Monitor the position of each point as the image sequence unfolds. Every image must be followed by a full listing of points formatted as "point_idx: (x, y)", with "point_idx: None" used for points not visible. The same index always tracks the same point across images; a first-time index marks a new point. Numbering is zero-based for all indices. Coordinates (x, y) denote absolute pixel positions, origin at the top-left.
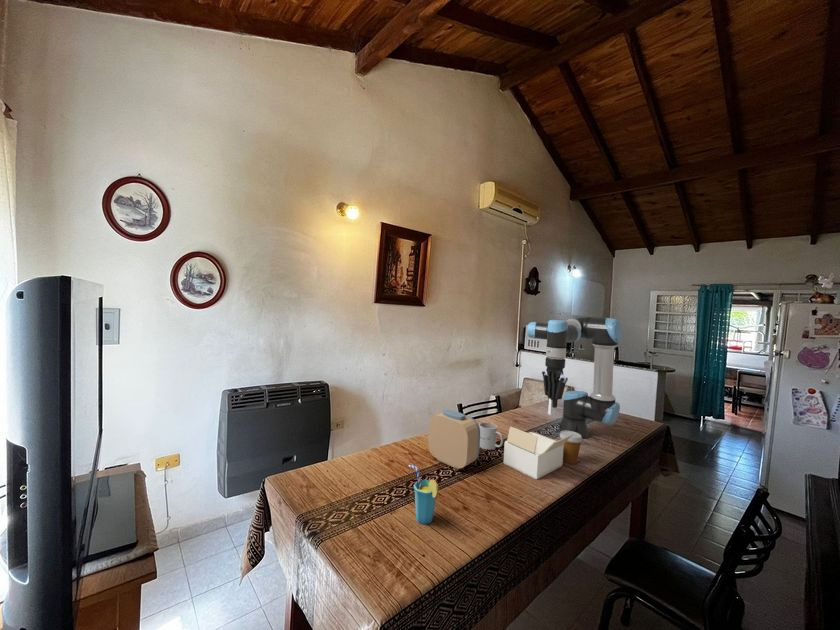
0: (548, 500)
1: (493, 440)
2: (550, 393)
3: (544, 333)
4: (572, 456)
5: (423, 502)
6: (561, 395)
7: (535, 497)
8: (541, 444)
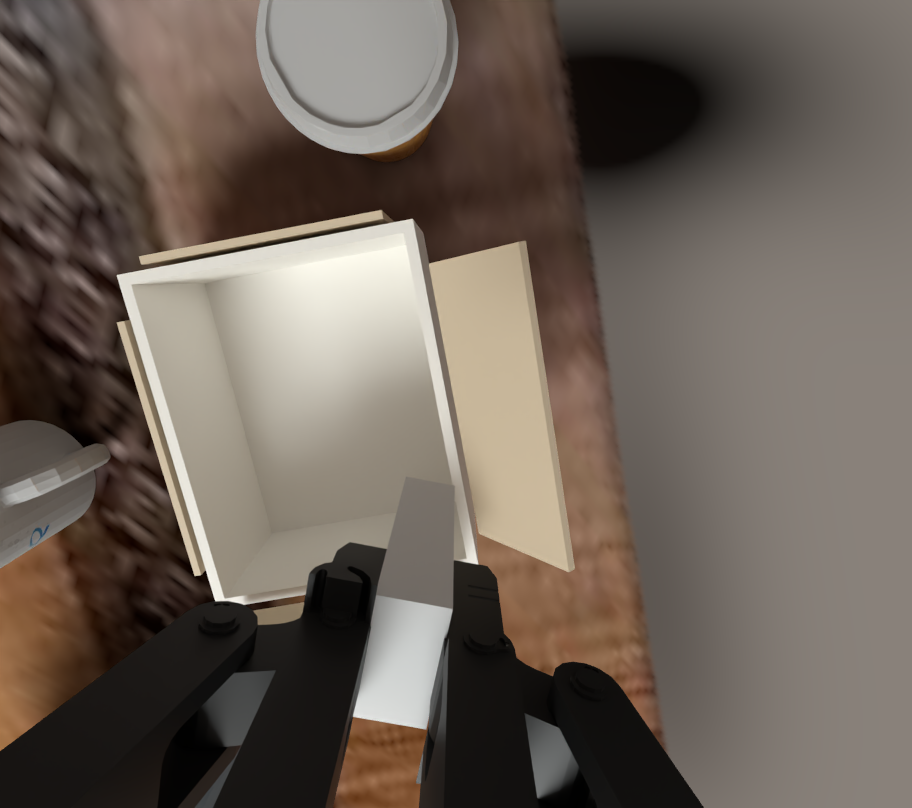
0: (623, 588)
1: (56, 495)
2: (337, 786)
3: None
4: (427, 130)
5: None
6: (655, 779)
7: (579, 621)
8: (253, 267)
